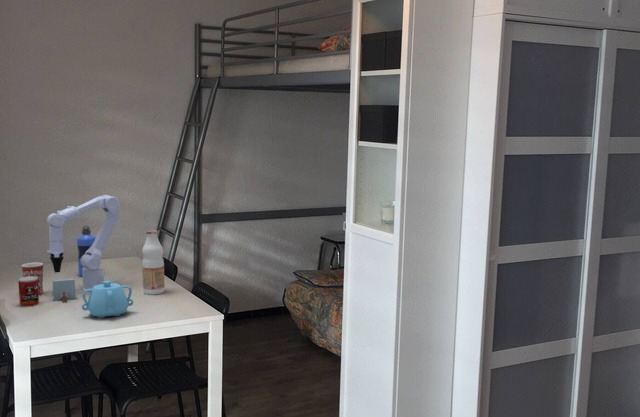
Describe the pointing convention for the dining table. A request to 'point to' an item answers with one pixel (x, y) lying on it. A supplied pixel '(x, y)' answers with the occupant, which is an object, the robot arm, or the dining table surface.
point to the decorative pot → (107, 299)
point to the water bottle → (84, 245)
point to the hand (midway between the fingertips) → (57, 270)
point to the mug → (34, 273)
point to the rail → (64, 297)
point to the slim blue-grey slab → (63, 288)
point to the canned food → (28, 291)
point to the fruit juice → (153, 265)
